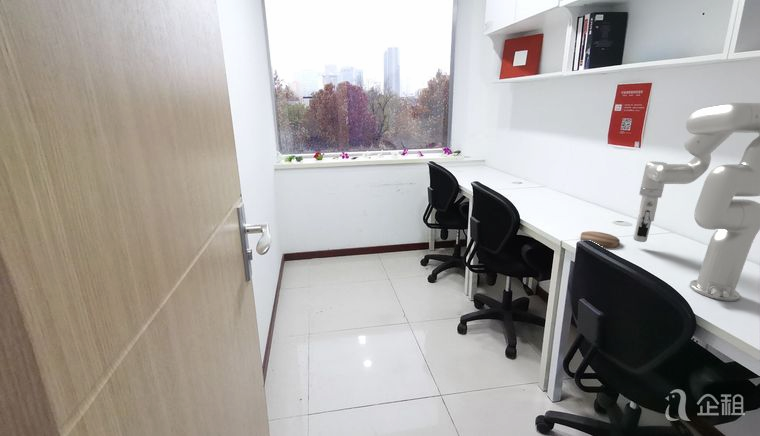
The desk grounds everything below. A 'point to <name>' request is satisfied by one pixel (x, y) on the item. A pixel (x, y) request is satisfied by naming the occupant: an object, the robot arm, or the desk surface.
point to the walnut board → (601, 239)
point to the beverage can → (637, 238)
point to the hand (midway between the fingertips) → (641, 233)
